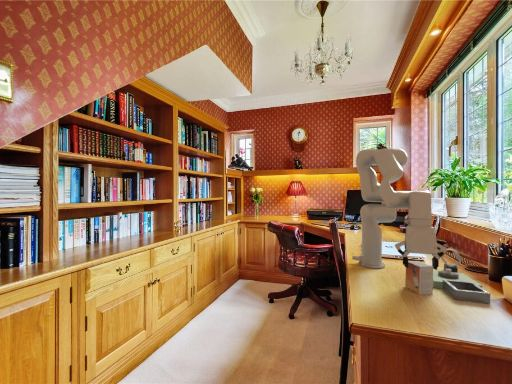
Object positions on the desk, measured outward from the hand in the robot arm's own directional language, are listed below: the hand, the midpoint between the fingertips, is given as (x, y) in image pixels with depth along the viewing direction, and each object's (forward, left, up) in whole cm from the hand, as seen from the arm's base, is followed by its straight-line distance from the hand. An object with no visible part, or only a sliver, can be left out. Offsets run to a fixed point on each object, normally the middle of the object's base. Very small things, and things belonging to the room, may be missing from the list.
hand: (420, 267), depth 101 cm
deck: (+15, +15, -9) cm, 23 cm away
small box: (0, +1, -9) cm, 9 cm away
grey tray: (+15, +1, -9) cm, 17 cm away
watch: (+22, +33, -9) cm, 40 cm away
